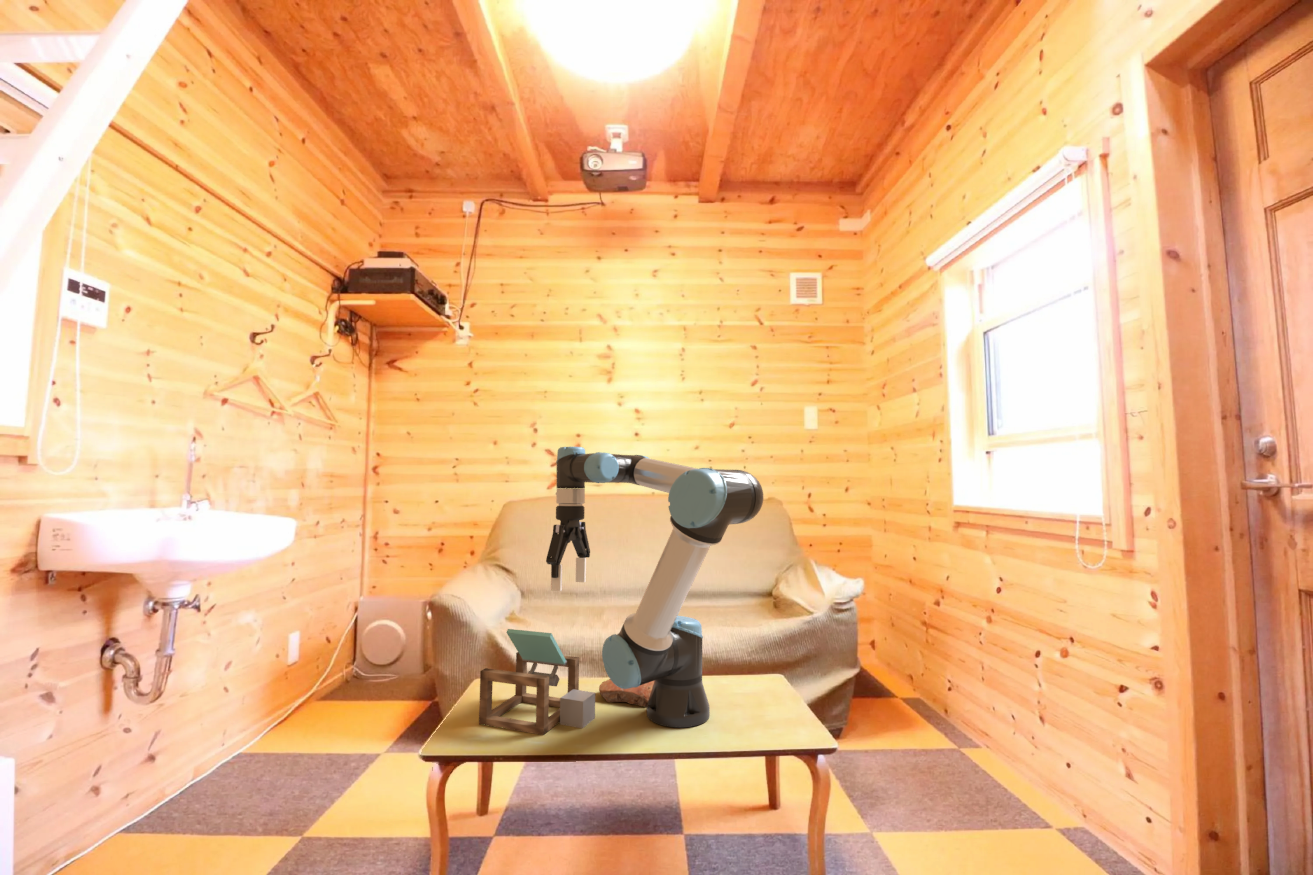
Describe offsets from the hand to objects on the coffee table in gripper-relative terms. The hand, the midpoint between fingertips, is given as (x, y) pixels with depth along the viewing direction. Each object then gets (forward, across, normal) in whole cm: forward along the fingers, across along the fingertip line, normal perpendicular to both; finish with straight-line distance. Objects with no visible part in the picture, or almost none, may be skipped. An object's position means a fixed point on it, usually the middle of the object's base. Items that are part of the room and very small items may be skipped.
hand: (569, 586), depth 149 cm
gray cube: (+29, +11, +9) cm, 32 cm away
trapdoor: (+18, +12, -3) cm, 21 cm away
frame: (+29, +12, -4) cm, 31 cm away
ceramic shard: (+29, -8, +14) cm, 33 cm away
